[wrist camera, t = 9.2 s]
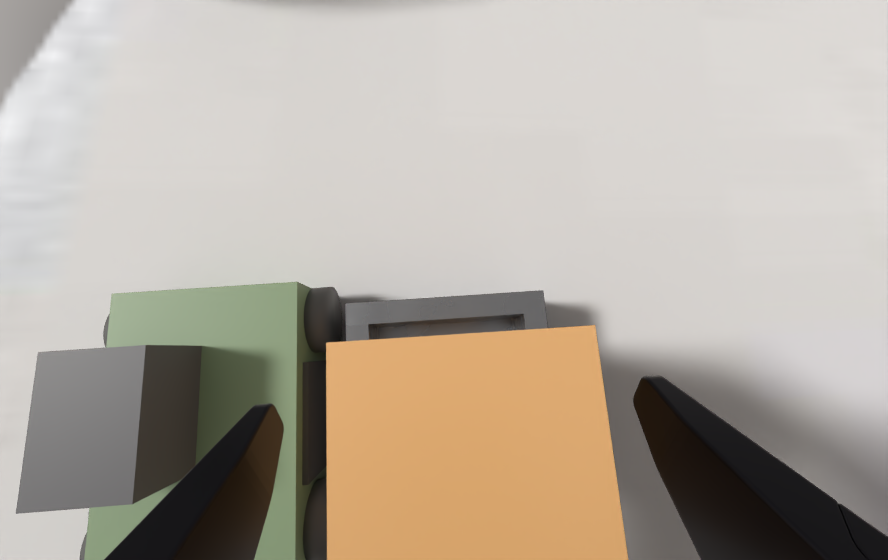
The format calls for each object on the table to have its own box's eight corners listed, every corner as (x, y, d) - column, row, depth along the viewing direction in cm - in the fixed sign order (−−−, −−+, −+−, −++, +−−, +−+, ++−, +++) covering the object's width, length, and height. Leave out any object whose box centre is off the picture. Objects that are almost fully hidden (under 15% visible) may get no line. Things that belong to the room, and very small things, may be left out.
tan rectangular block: (505, 462, 18) (649, 709, 6) (404, 470, 18) (327, 740, 6) (494, 340, 19) (595, 325, 7) (399, 346, 19) (326, 342, 7)
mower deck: (345, 538, 18) (286, 659, 11) (140, 555, 17) (-55, 691, 10) (341, 292, 20) (290, 262, 13) (160, 303, 20) (10, 280, 13)
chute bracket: (557, 497, 18) (584, 531, 15) (356, 513, 18) (337, 552, 14) (534, 299, 20) (554, 289, 17) (352, 311, 20) (334, 303, 16)
